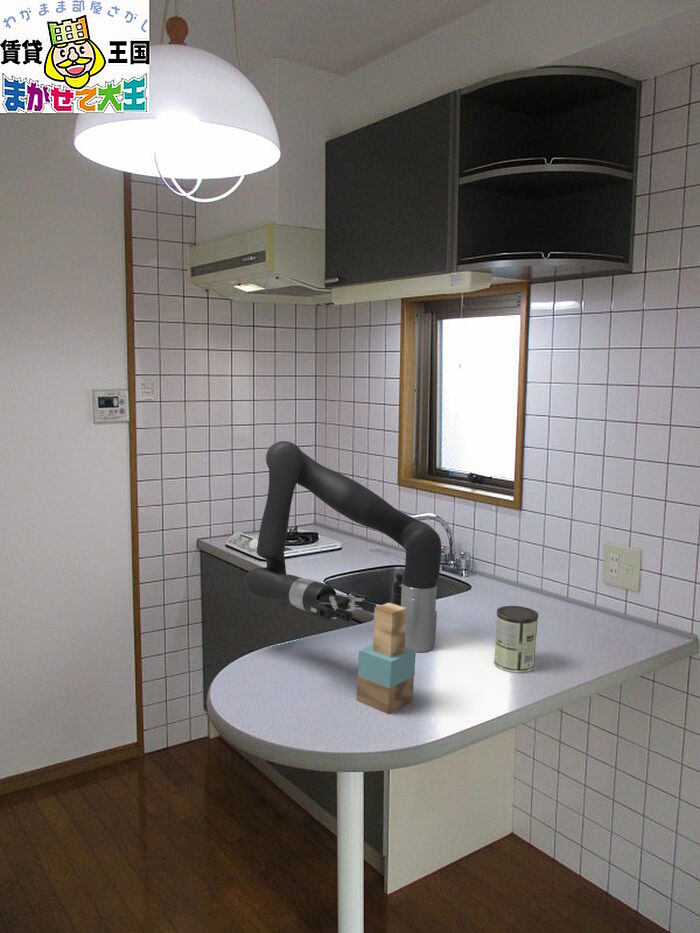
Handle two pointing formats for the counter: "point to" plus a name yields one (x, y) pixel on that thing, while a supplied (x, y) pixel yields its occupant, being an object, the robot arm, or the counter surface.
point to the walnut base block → (384, 694)
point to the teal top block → (386, 666)
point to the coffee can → (515, 639)
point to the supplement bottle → (397, 589)
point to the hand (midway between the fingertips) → (363, 613)
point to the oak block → (389, 629)
